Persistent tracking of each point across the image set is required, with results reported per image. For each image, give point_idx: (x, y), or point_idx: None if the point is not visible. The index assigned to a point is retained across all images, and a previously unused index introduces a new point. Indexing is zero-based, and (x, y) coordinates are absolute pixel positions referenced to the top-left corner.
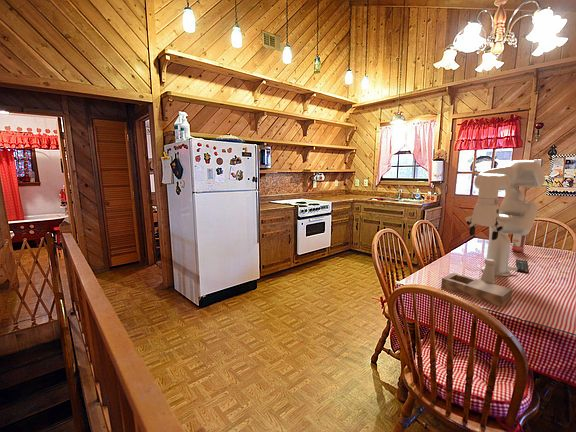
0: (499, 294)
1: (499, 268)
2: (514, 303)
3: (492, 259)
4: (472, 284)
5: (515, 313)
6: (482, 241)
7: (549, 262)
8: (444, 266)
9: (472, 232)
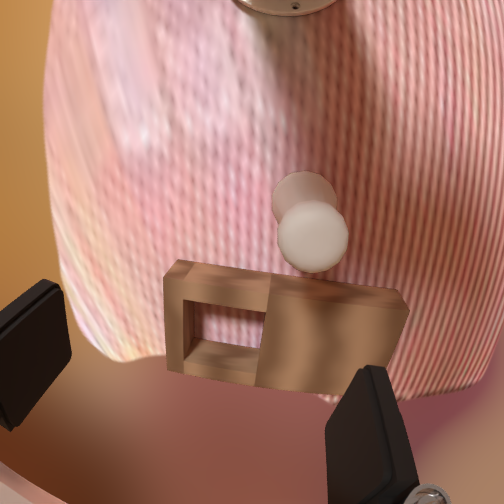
0: None
1: None
2: None
3: (326, 227)
4: (273, 365)
5: (397, 381)
6: None
7: None
8: (82, 82)
9: (46, 365)
